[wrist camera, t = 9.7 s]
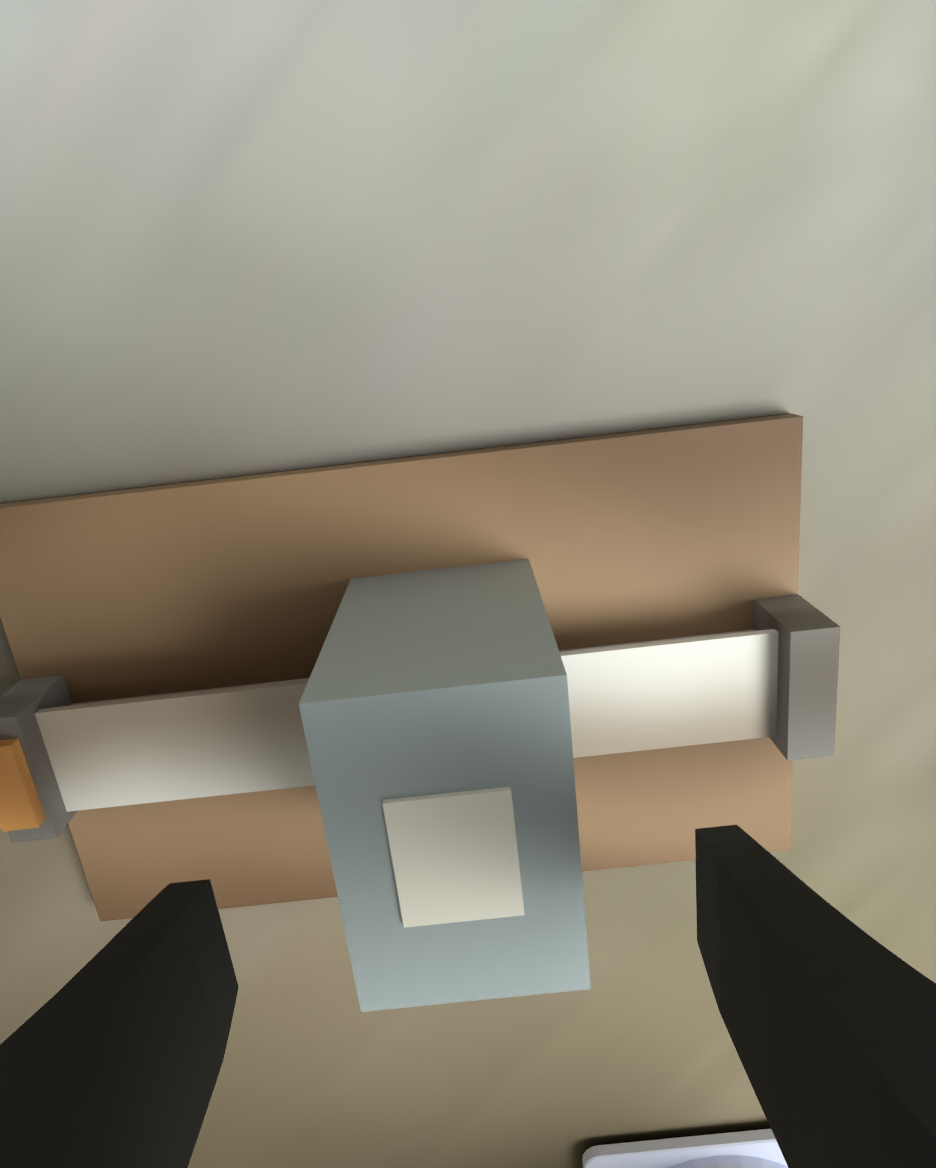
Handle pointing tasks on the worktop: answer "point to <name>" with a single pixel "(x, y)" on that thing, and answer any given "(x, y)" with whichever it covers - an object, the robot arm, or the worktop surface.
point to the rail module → (449, 788)
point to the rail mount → (389, 546)
